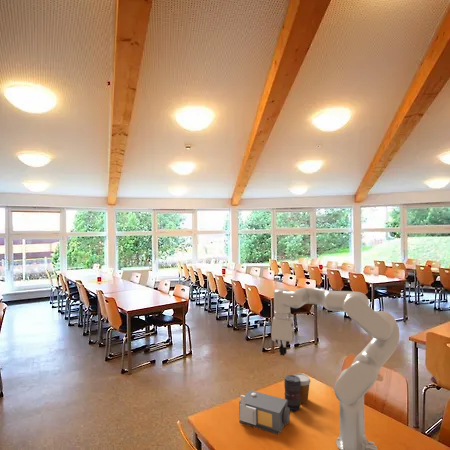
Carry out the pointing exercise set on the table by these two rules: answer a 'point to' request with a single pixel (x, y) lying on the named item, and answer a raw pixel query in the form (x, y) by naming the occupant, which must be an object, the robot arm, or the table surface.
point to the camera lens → (292, 392)
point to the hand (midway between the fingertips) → (283, 354)
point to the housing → (267, 411)
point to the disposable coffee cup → (304, 387)
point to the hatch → (247, 412)
